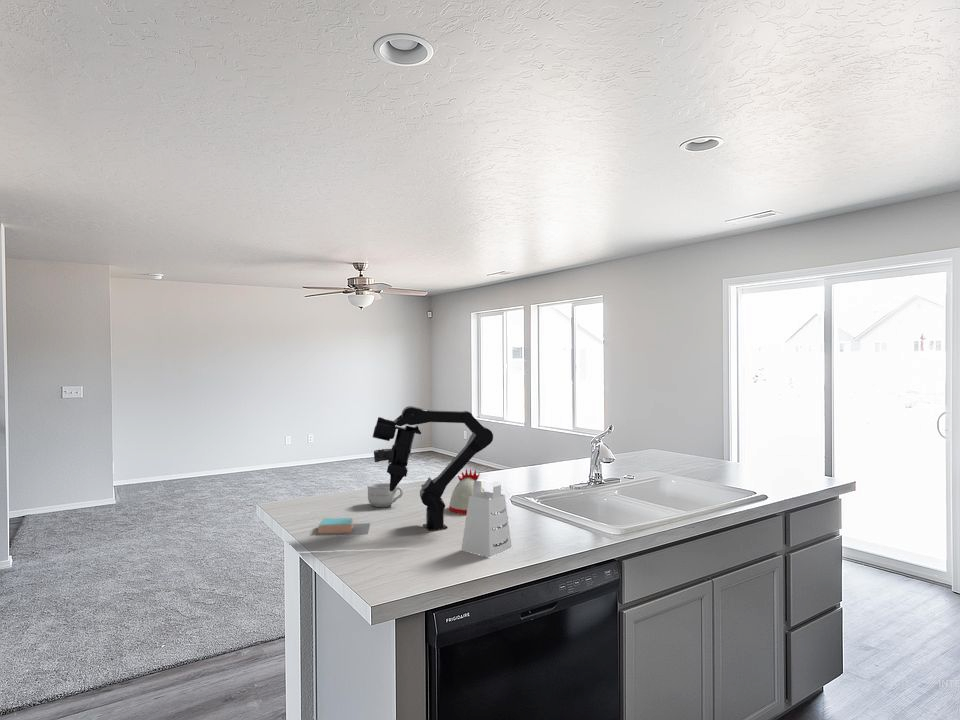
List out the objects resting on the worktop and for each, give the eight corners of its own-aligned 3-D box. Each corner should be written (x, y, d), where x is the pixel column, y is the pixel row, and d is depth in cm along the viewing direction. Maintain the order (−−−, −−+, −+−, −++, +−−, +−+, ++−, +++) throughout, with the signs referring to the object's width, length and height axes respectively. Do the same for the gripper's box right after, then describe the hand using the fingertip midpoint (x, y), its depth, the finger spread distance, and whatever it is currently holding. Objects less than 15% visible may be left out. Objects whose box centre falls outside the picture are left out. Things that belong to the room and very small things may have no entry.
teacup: (361, 507, 213) (361, 485, 213) (379, 500, 223) (379, 480, 223) (391, 511, 207) (391, 489, 207) (408, 505, 216) (409, 484, 216)
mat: (370, 524, 190) (370, 523, 190) (367, 535, 178) (367, 534, 178) (321, 526, 188) (321, 524, 188) (315, 537, 176) (315, 535, 176)
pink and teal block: (353, 517, 187) (322, 518, 186) (351, 524, 179) (318, 525, 178) (353, 525, 187) (322, 526, 186) (351, 532, 179) (318, 533, 178)
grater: (484, 541, 173) (484, 475, 173) (511, 548, 166) (512, 480, 166) (461, 550, 165) (461, 481, 165) (489, 558, 158) (490, 486, 158)
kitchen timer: (486, 514, 204) (486, 472, 204) (448, 514, 204) (448, 472, 204) (486, 505, 218) (487, 465, 218) (450, 504, 218) (451, 465, 218)
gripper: (379, 434, 194) (368, 479, 193) (377, 442, 175) (364, 492, 175) (411, 442, 195) (400, 486, 195) (412, 451, 177) (400, 500, 176)
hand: (391, 490), depth 185 cm, fingers closed
